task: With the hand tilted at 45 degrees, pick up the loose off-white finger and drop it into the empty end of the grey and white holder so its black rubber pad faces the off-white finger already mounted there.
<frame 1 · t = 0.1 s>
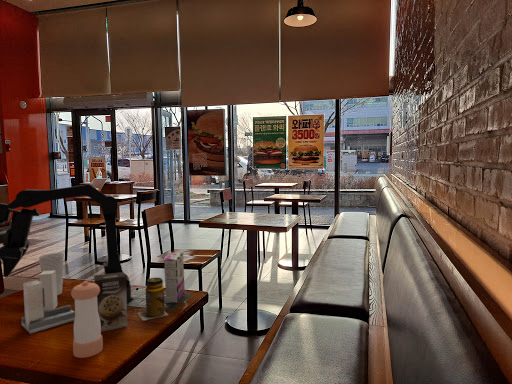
hand: (8, 273, 117), 15 cm above the table, tool pointing down, fingers open, 9 cm apart
condiment: (152, 315, 121), on the table
grey and white holder: (51, 321, 116), on the table
candy bar box: (175, 298, 136), on the table
cup: (53, 294, 142), on the table
pepper shaker: (88, 351, 97), on the table
finger: (49, 308, 127), on the table
coffee box: (111, 326, 112), on the table
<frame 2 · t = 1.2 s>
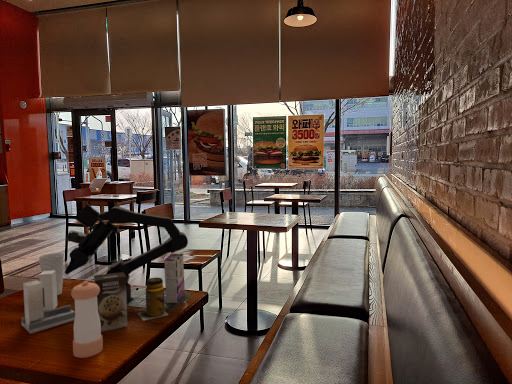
hand: (69, 269, 128), 13 cm above the table, tool tilted 40°, fingers open, 9 cm apart
candy bar box: (175, 298, 136), on the table, touching arm
everything else where it was.
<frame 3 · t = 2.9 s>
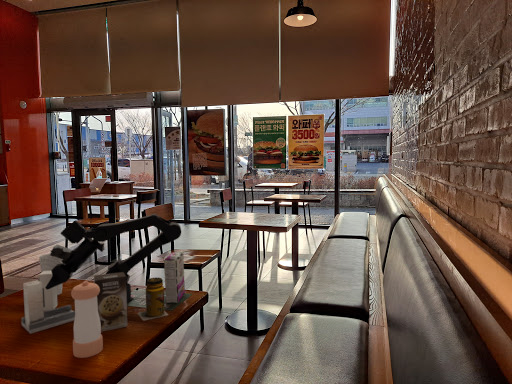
hand: (50, 284, 127), 8 cm above the table, tool tilted 45°, fingers open, 9 cm apart
candy bar box: (175, 298, 136), on the table
everything else where it was.
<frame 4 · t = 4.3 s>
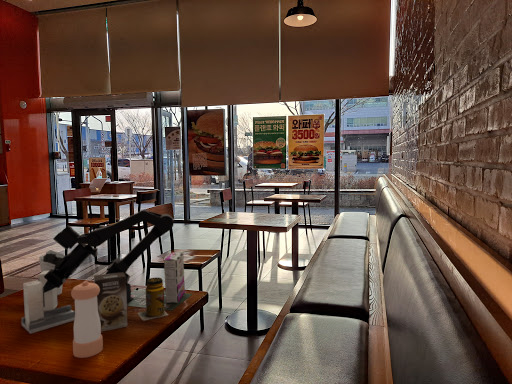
hand: (44, 290, 127), 7 cm above the table, tool tilted 45°, fingers closed on finger, 4 cm apart
finger: (49, 308, 127), on the table, touching gripper
everything else where it was.
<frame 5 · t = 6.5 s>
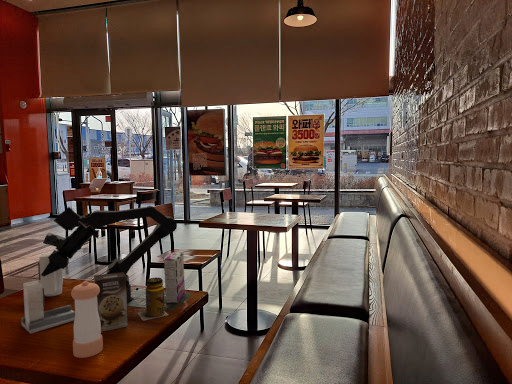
hand: (43, 273, 123), 13 cm above the table, tool tilted 45°, fingers closed on finger, 4 cm apart
finger: (49, 291, 124), point 7 cm above the table, touching gripper
everything else where it was.
when the fingers open (8 cm above the table, at t = 8.9 s): finger stays where it is, resting on grey and white holder.
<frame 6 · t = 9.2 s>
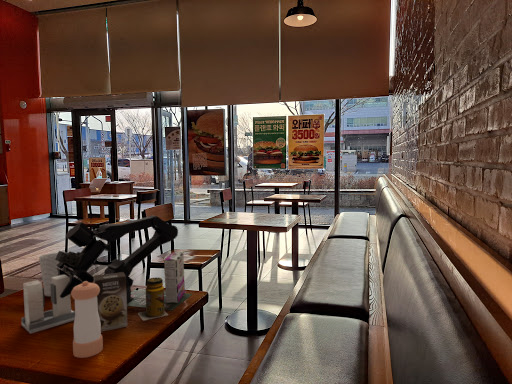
hand: (56, 294, 116), 9 cm above the table, tool tilted 45°, fingers open, 8 cm apart
finger: (62, 315, 118), point 1 cm above the table, touching grey and white holder
everything else where it was.
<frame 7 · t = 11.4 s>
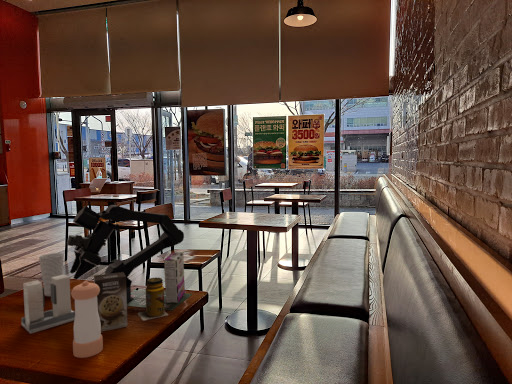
hand: (72, 275, 123), 13 cm above the table, tool tilted 35°, fingers open, 9 cm apart
nothing on the table moved.
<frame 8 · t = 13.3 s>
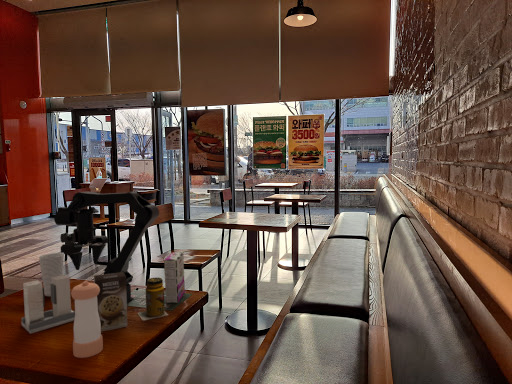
hand: (86, 266, 134), 13 cm above the table, tool pointing down, fingers open, 9 cm apart
nothing on the table moved.
at the end: finger 0.0 cm from the target spot on the grey and white holder, point 1.0 cm above the grey and white holder's base; finger tilted 0°; the gripper is holding nothing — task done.
